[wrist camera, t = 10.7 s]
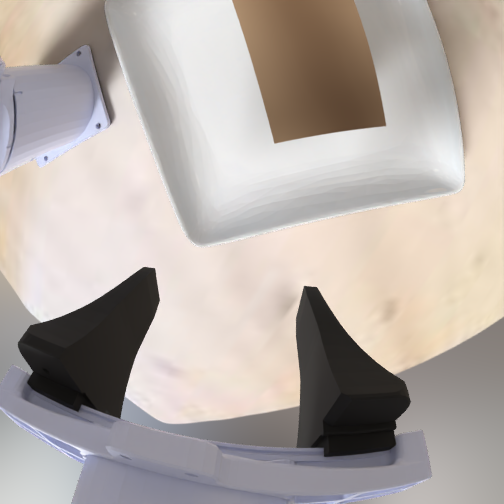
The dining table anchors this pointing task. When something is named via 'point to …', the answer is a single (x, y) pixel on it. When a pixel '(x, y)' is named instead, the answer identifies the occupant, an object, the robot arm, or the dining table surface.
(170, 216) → the dining table surface
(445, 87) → the salad plate
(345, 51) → the tan cardboard box
